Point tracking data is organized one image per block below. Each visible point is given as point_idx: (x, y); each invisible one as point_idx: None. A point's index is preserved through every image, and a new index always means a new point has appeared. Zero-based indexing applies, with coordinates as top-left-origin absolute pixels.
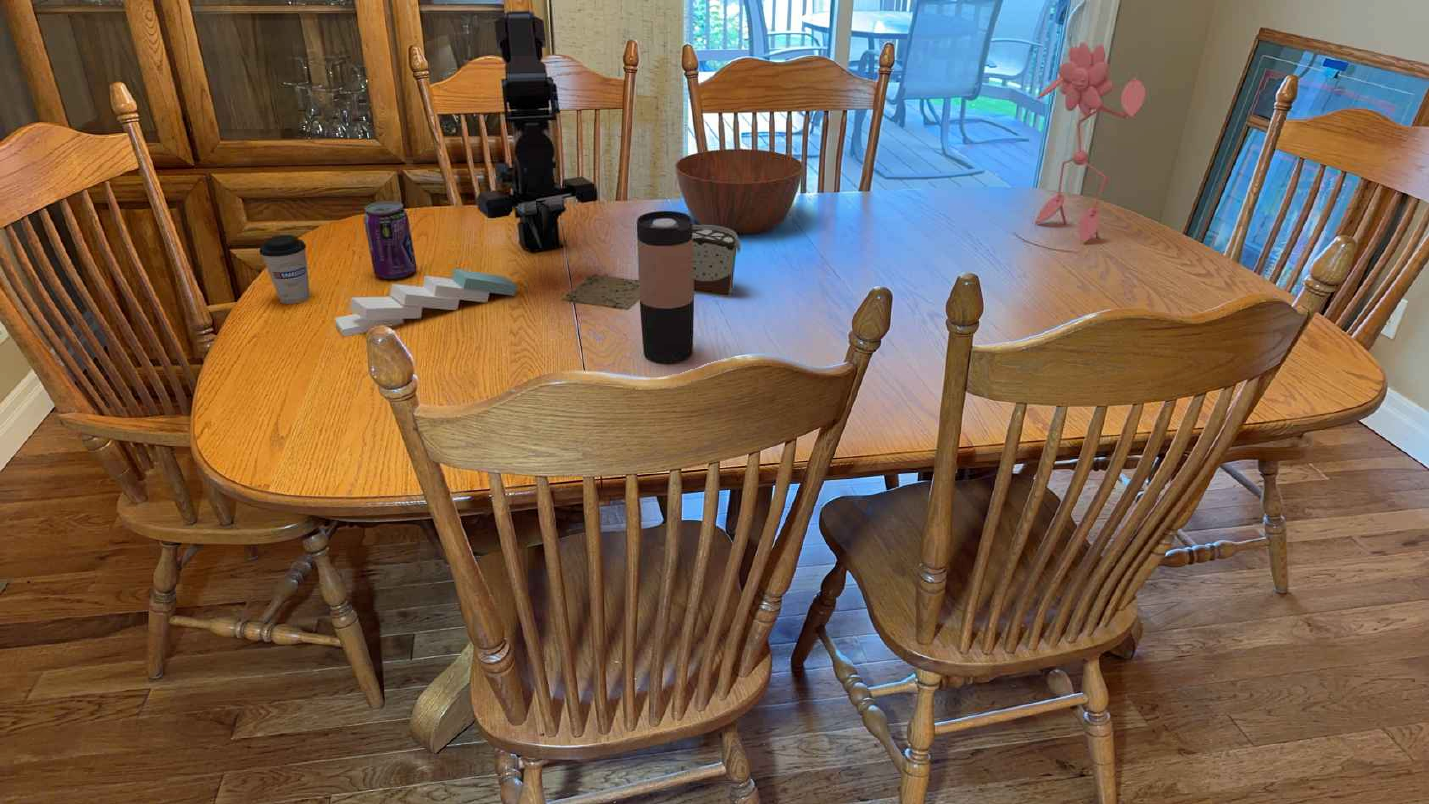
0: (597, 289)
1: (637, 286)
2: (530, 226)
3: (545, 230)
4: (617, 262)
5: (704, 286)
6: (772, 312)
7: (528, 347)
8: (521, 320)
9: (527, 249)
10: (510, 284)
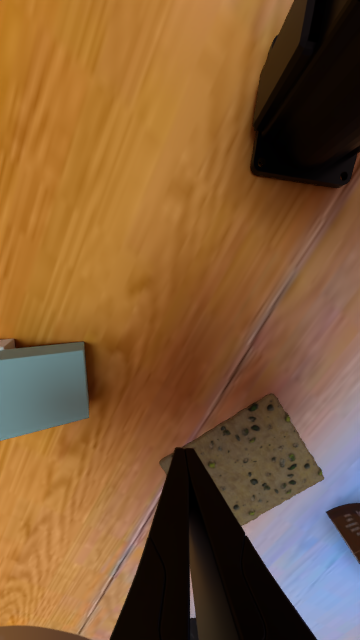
0: (232, 463)
1: (291, 484)
2: (142, 555)
3: (195, 592)
4: (352, 361)
5: (355, 555)
6: (353, 604)
7: (33, 571)
8: (59, 496)
9: (255, 136)
10: (69, 422)
